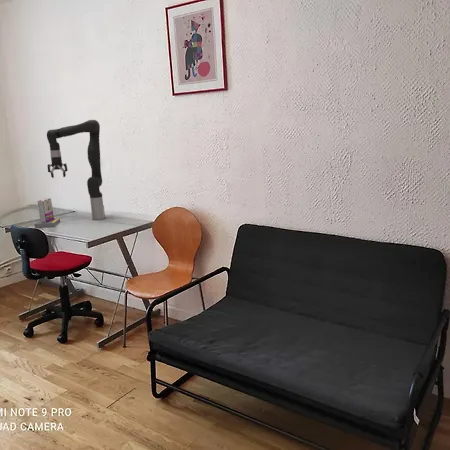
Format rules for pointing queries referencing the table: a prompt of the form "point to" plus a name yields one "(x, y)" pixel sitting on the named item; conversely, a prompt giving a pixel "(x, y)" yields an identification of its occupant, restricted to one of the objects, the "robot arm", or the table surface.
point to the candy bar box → (45, 210)
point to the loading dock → (48, 224)
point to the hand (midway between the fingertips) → (58, 177)
